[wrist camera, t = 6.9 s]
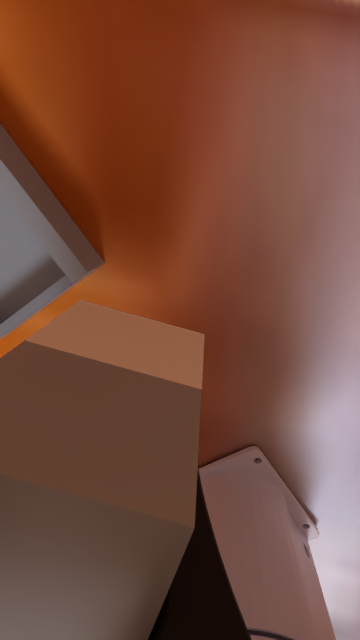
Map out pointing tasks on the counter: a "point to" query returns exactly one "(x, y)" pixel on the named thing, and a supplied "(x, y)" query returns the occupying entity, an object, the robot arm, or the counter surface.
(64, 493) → the block
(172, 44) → the counter surface
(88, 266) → the grey rectangular tray
